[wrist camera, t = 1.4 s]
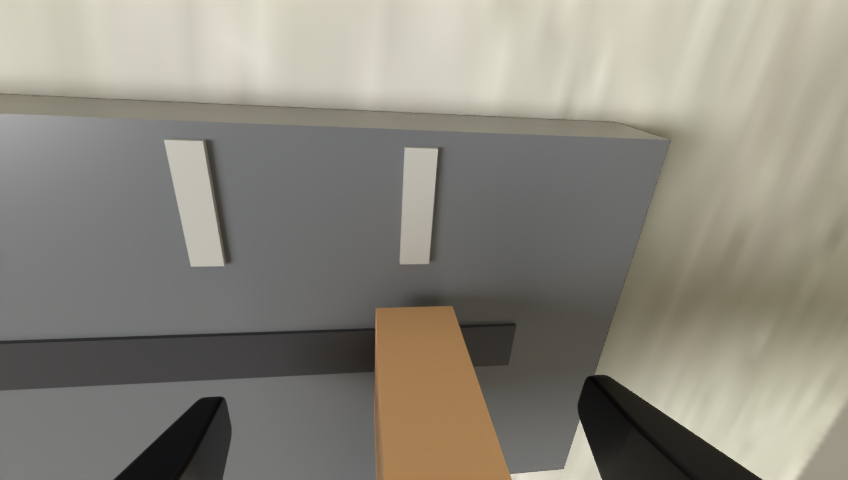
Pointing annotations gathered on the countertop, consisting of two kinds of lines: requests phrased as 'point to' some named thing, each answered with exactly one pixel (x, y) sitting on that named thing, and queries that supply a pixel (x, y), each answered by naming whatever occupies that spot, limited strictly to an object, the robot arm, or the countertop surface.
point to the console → (296, 273)
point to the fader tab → (430, 401)
